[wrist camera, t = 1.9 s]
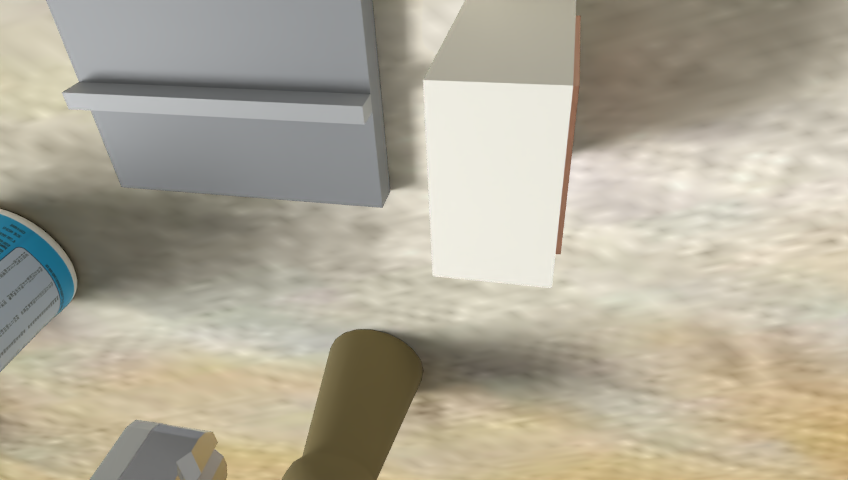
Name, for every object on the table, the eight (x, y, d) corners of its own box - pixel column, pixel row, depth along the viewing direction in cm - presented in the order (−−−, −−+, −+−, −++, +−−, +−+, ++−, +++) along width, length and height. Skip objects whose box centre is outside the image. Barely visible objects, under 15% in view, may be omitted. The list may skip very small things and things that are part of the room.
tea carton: (582, -10, 23) (581, 85, 16) (564, 155, 27) (557, 288, 20) (470, -11, 24) (423, 79, 17) (471, 150, 28) (432, 276, 21)
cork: (380, 316, 36) (315, 488, 27) (442, 379, 38) (401, 556, 29) (311, 348, 39) (233, 511, 30) (372, 405, 41) (316, 572, 32)
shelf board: (361, -118, 22) (338, -107, 20) (390, 190, 30) (375, 222, 28) (31, -109, 25) (-20, -98, 23) (138, 172, 33) (107, 199, 31)
